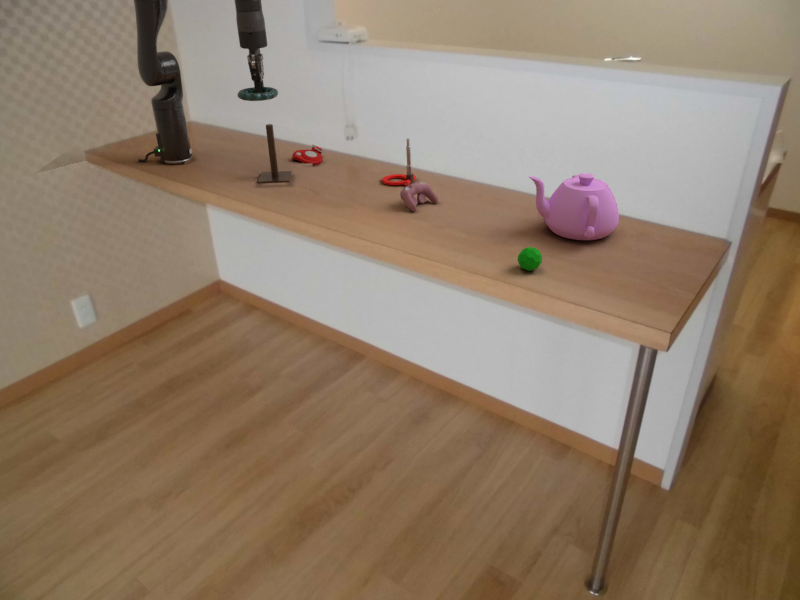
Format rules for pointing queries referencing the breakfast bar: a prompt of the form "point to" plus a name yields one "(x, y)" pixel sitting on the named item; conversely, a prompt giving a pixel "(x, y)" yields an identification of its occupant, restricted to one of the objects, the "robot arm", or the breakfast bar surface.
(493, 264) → the breakfast bar surface
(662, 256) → the breakfast bar surface
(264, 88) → the ring
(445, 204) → the breakfast bar surface
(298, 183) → the breakfast bar surface
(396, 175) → the tow hook
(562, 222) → the teapot
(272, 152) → the brown peg stand
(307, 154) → the tracker holder
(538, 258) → the polyhedron
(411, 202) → the video game controller
